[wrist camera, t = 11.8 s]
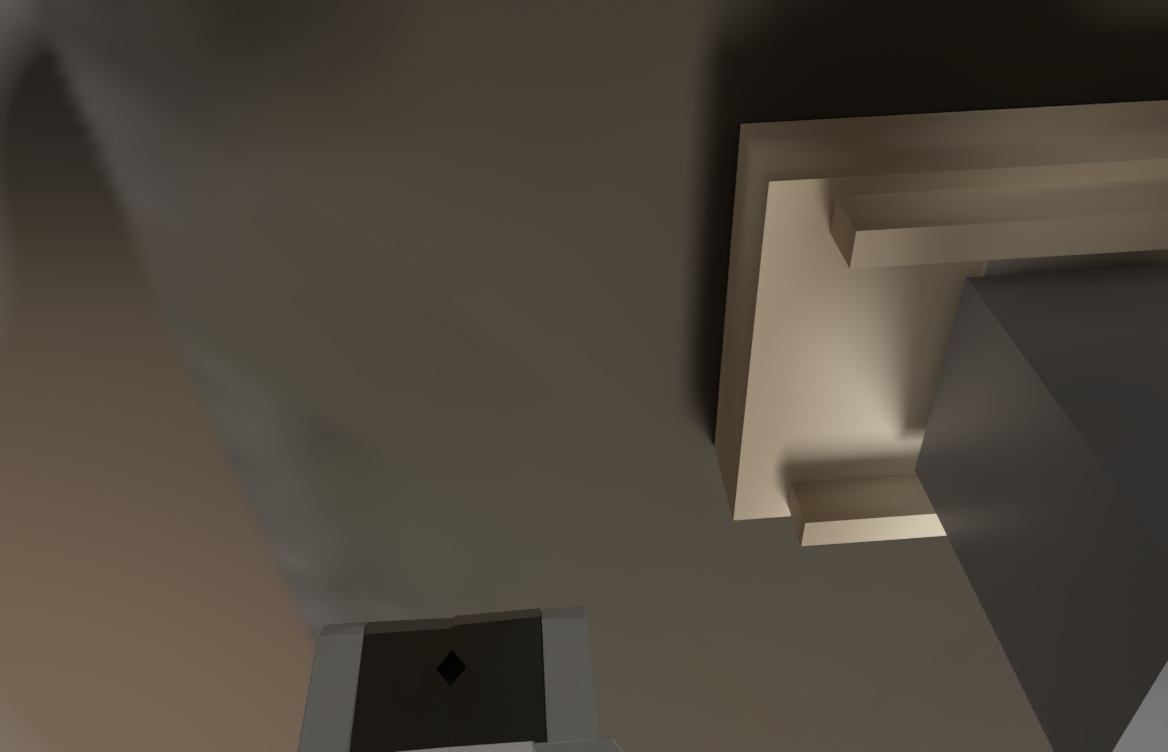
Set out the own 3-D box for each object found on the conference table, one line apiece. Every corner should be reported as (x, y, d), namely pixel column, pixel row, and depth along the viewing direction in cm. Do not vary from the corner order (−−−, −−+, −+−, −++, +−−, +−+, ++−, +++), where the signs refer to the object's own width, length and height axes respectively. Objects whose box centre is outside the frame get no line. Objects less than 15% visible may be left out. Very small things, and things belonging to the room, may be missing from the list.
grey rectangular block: (1226, 261, 14) (1588, 573, 9) (1136, 454, 17) (1387, 777, 12) (966, 277, 14) (1202, 603, 9) (914, 470, 16) (1081, 804, 12)
